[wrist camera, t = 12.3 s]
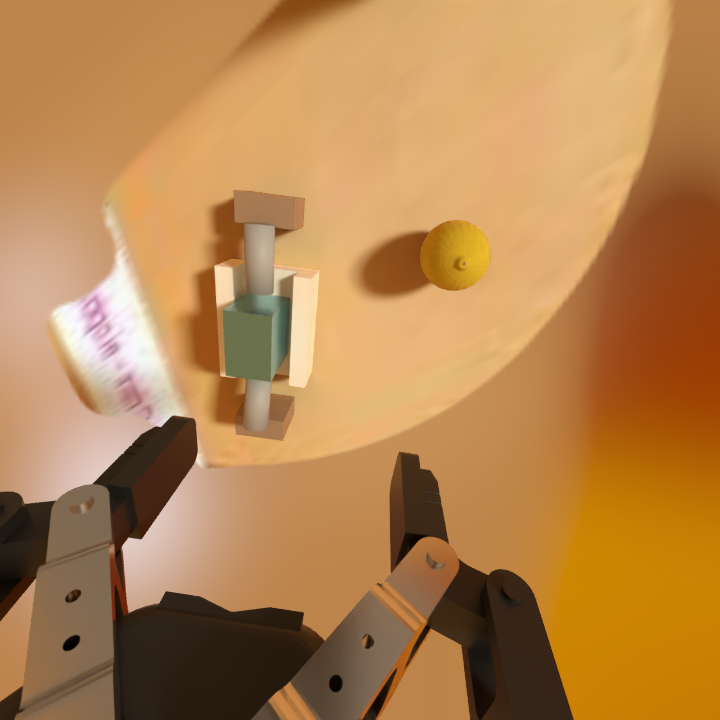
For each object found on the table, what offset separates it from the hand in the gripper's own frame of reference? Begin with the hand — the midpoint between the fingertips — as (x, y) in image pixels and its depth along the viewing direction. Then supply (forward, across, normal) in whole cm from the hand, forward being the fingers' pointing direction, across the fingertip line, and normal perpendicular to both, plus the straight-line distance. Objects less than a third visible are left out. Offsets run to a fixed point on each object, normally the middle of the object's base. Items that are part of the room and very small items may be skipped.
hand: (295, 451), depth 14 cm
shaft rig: (+24, +7, +4) cm, 25 cm away
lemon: (+24, -8, -6) cm, 26 cm away
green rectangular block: (+22, +7, +4) cm, 23 cm away
